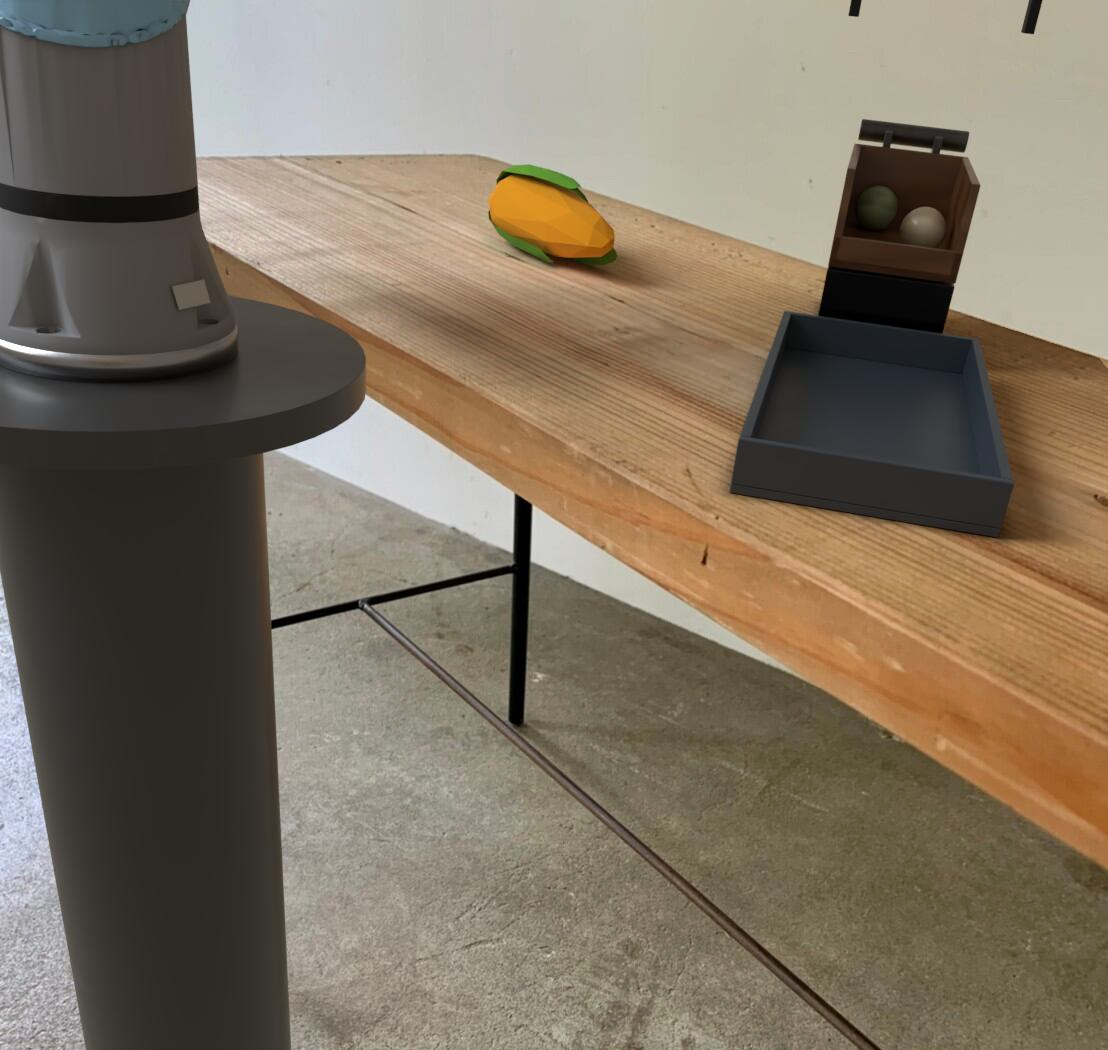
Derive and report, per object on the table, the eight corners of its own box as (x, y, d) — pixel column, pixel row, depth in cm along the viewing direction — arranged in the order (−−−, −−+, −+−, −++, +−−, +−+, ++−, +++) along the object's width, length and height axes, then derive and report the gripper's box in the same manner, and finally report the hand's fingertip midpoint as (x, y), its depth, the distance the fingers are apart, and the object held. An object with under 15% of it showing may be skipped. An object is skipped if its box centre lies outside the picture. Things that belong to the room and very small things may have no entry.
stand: (933, 369, 90) (954, 286, 87) (810, 351, 92) (827, 269, 89) (928, 318, 105) (946, 245, 101) (822, 303, 106) (836, 231, 103)
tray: (997, 537, 63) (1014, 483, 61) (729, 492, 65) (738, 438, 64) (968, 380, 89) (979, 338, 87) (776, 351, 91) (784, 310, 89)
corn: (538, 150, 116) (654, 188, 102) (537, 233, 121) (648, 281, 107) (469, 155, 113) (579, 195, 99) (471, 241, 118) (576, 290, 104)
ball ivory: (886, 248, 91) (894, 205, 92) (913, 267, 93) (921, 226, 94) (923, 235, 89) (932, 192, 89) (950, 256, 91) (959, 214, 91)
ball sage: (842, 226, 100) (851, 182, 99) (871, 230, 102) (880, 186, 100) (872, 231, 98) (881, 185, 96) (901, 234, 99) (911, 189, 98)
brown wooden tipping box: (955, 283, 87) (987, 159, 83) (827, 266, 88) (852, 143, 84) (945, 235, 104) (971, 130, 100) (839, 221, 106) (860, 117, 101)
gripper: (1192, -305, 86) (1095, 39, 97) (839, -325, 89) (786, 8, 101) (1215, -328, 79) (1109, 42, 91) (835, -348, 83) (779, 9, 95)
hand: (939, 25), depth 96 cm, fingers open, 13 cm apart
